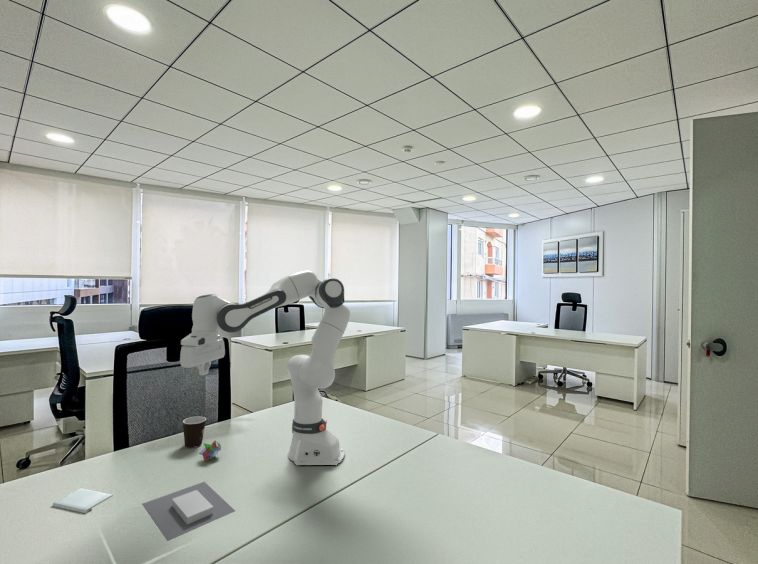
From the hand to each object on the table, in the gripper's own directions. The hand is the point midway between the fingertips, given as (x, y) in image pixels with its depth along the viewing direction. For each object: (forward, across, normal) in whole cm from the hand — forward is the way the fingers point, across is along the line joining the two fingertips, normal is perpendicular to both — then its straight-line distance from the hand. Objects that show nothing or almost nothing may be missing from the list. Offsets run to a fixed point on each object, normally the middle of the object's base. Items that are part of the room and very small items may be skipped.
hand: (203, 374), depth 134 cm
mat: (+32, +25, +16) cm, 44 cm away
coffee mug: (+33, -14, -13) cm, 38 cm away
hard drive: (+33, +30, -16) cm, 48 cm away
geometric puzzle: (+33, -3, +2) cm, 33 cm away
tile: (+31, +23, +12) cm, 41 cm away
